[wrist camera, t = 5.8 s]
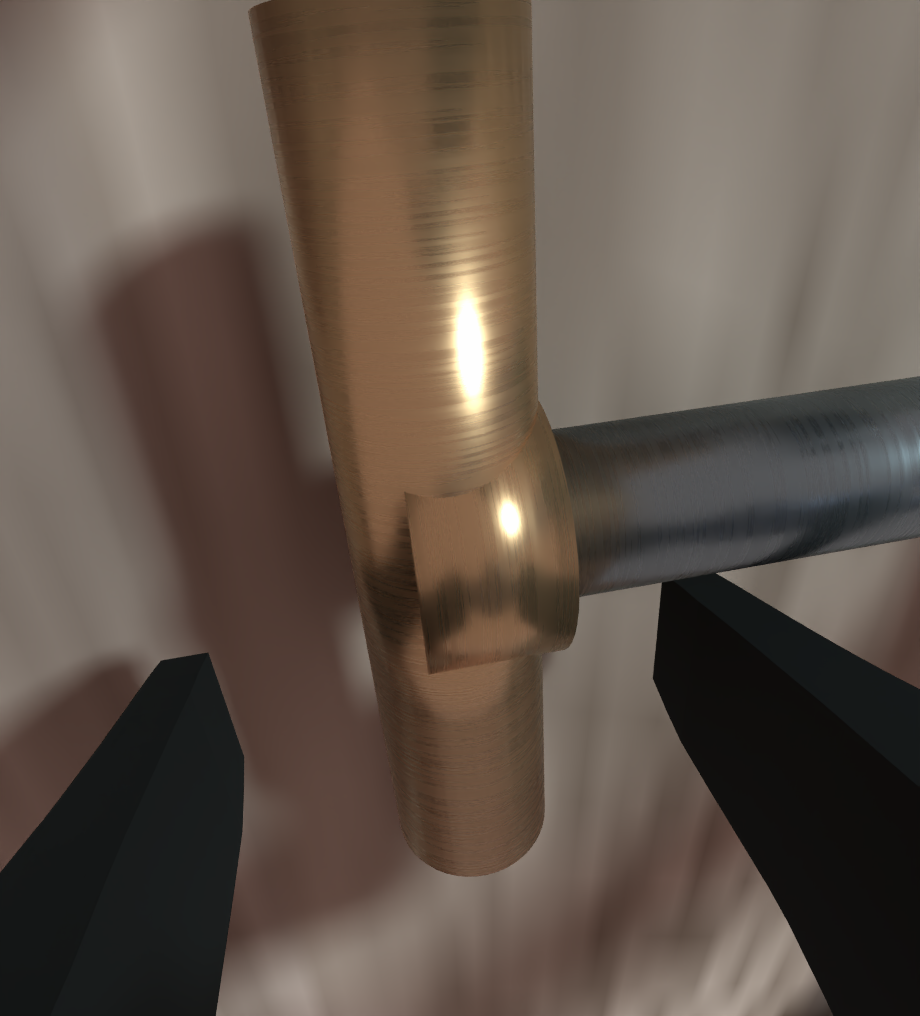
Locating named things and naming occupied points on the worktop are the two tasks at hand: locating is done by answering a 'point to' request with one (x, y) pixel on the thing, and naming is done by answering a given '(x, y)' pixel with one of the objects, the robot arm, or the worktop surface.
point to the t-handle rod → (505, 410)
